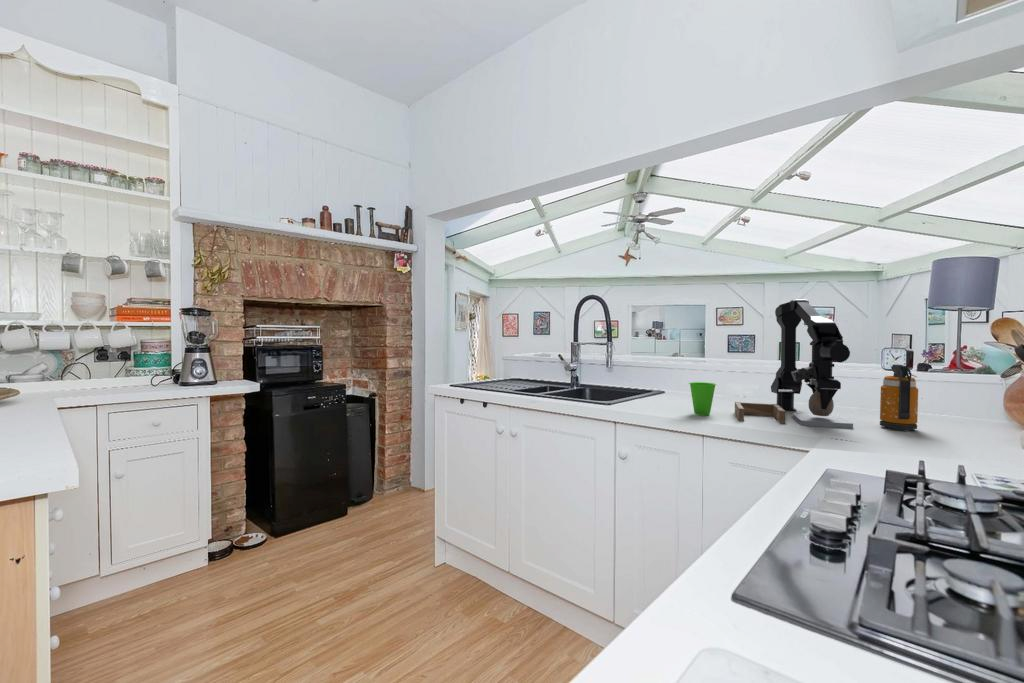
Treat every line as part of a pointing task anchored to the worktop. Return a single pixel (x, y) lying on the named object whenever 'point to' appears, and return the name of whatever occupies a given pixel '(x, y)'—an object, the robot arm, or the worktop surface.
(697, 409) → the cup
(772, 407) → the holder
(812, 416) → the board
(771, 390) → the robot arm
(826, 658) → the worktop surface
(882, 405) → the canister
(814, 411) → the vase
